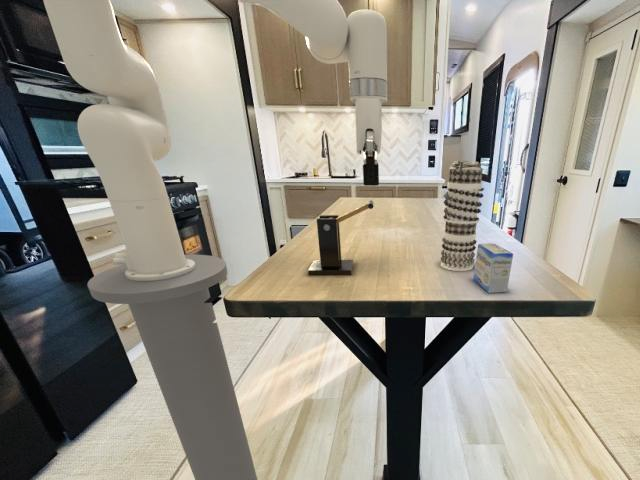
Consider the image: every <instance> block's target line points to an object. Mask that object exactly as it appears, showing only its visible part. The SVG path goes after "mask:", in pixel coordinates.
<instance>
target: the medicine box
mask: <svg viewBox="0 0 640 480" xmlns="http://www.w3.org/2000/svg"><path fill="white" fill-rule="evenodd" d="M475 256H476V258H475V262H474V264H475V265H474V270H473V271H474V272H473V279H472V280H473V281H474V282H475V283H476V284H477V285H478V286H480V287H481V288H482V289H483V290H485V291H486V292H487V293H488V294H494V293H495V294H496V293H506V292H507V291H508V287H509V281H510V275H511V270H512V264H513V258H514V253H512V252H511V251H509V250H507V249H506V248H504V247H502V246H500V245H499V244H496V243H487V242H486V243H478V244H477V248H476V255H475Z"/></svg>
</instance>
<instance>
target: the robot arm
mask: <svg viewBox="0 0 640 480" xmlns="http://www.w3.org/2000/svg"><path fill="white" fill-rule="evenodd" d="M42 1H43V4H44V8H45V11H46V13H47V16H48V17H47V18H48V19H49V22H50V25H51V28H52V31H53V34H54V37H55V40H56V43H57V46H58V49H59V52H60V55H61V57H62V60H63V63H64V66H65V68H66V70H67V71H68V73H69V74H70V76H71V77H72V79H73V80H74V81H75V82H76V83H78V84H79V85H80V86H81V87H83V88H84V89H86V90H88V91H90V92H93V93H95V94H99V95H101V96H105V97H107V100H108V103H97V104H92V105H90V106H88V107H86V108H84V109H83V110H82V111H81V113H80V114H79V116H78V119H77V125H76V126H77V133H78V136H79V140H80V141H81V144H82V146H83V148H84V149H85V151H86V153H87V155H88V156H89V158H90V160H91V162H92V163H93V165H94V167H95V169H96V171H97V174H98V177H99V179H100V180H101V183H102V186H103V188H104V191H105V194H106V196H107V199H108V201H109V204H110V207H111V210H112V213H113V216H114V218H115V221H116V224H117V226H118V229H119V232H120V236H121V238H122V241H123V244H124V247H125V249H126V252H127V253H126V252H119V253H115V254H114V258H112V263H113V264H114V265H124V264H126V265H127V268H128V269H127V270H126V271H125V275H126V277H127V278H128V279H130V280H133V281H157V280H164V279H169V278H174V277H178V276H181V275H184V274H187V273H189V272H191V271H192V270H194V269H195V267H196V265H195V262H194V261H193V260H190V259H185V255H186V254H185V252H184V249H183V245H182V241H181V237H180V234H179V231H178V230H179V229H178V227H177V224H176V220H175V215H174V213H173V209H172V205H171V202H170V198H169V195H168V191H167V188H166V185H165V182H164V179H163V177H162V175H161V172H160V170H159V169H158V167H157V165H156V163H155V162H156V161H159V160H162V159H164V158H165V157H166V156H168V154H169V152H170V150H171V146H172V137H171V131H170V127H169V123H168V119H167V115H166V111H165V107H164V102H163V99H162V95H161V90H160V87H159V84H158V80H157V78H156V75H155V73H154V72H153V69H152V68H151V66H150V64H149V63H148V62H147V61H146V59H145V58H144V56H142V55H141V54H140V53H138V52H137V51H136V50H135V49H133V48H131V47H130V46H129V45H127V44H125V43H124V41H123V38H122V35H121V33H120V29H119V26H118V24H117V23H118V22H117V19H116V15H115V11H114V7H113V5H112V1H111V0H42ZM237 1H238V2H239V3H242V4H244V5H247V6H249V5H250V6H251V5H256V6H261V7H263V8H265V9H267V10H268V11H269V12H271V13H273V14H275V15H276V16H277V17H278V18H281V20H282V21H284V22H285V23H286V24H288V25H290V26H291V27H293V28H294V30H296V31H298V32H299V33H300V34H301V35H302V36H304V37H305V42H306V45H307V48H308V50H309V52H310V54H311V55H312V57H313V58H314V59H316V60H317V61H318V62H320V63H322V64H328V65H334V64H341V63H348V79H349V80H348V82H349V83H348V84H349V101H350V102H352V103H355V108H354V110H355V111H354V112H355V139H356V140H355V141H356V153H357V155H362V154H363V164H362V178H363V179H362V181H363V185H364V186H369V187H370V186H371V187H372V186H373V187H374V186H377V187H378V186H379V185H380V174H379V173H380V172H379V170H380V167H379V162H378V155H379V154H381V148H382V133H383V131H382V129H383V123H382V122H383V115H382V114H383V113H382V112H383V111H382V109H383V106H382V104H384V103H387V102H388V30H387V29H388V27H387V21H386V19H385V17H384V15H383V14H381V13H380V12H378V11H375V10H373V9H357V10H355V11H351V12H350V14H348V16H347V15H346V12H345V10H344V8H343V6H342V4H340V2H339V0H237ZM362 152H363V153H362Z"/></svg>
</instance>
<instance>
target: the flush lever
mask: <svg viewBox="0 0 640 480" xmlns="http://www.w3.org/2000/svg"><path fill="white" fill-rule="evenodd" d="M373 208H374V200H369V201H368V202H367V203H365V204H363V205H360V206H359V207H357V208H355V209H353V210H351V211H349V212H346V213H344V214H343V215H340V216H339V217H338V218H337V223H339V224H340V223H341V222H343V221H345V220H348V219H350V218H352V217H354V216H356V215H358V214H361V213H363V212H365V211H366V210H368V209H369V210H372V209H373ZM330 218H332V217H330Z"/></svg>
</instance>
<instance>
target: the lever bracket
mask: <svg viewBox="0 0 640 480" xmlns="http://www.w3.org/2000/svg"><path fill="white" fill-rule="evenodd" d="M330 217H332V218H330ZM338 217H340V216H339V214H320V215H319V217H318V218H316V227H317V228H316V230H317V239H318V247H319V248H318V250H319V259H313V261H312V263H311V264H310V266H309V268H308V269H307V274H308V276H351V275H352V273H353V268H354V259H342V246H341V245H342V244H341V232H340V231H341V230H340V222H339V223H337V218H338Z"/></svg>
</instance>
